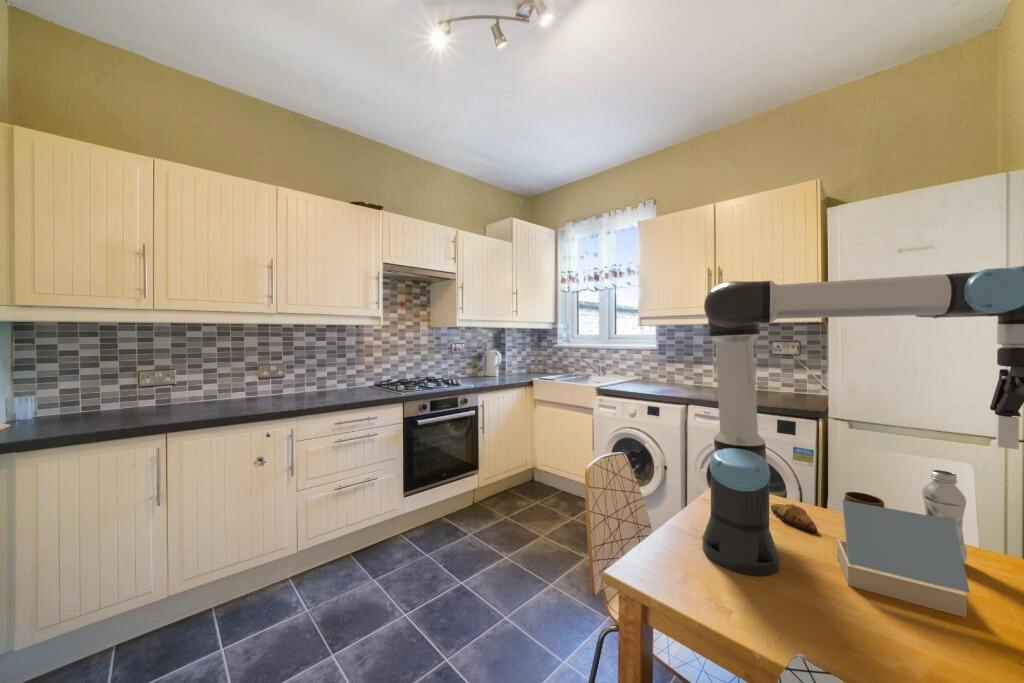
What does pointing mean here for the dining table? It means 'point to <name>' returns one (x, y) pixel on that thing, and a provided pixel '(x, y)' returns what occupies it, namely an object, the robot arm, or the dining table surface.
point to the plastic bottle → (946, 502)
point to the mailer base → (901, 586)
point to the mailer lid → (904, 544)
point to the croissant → (794, 516)
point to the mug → (863, 499)
